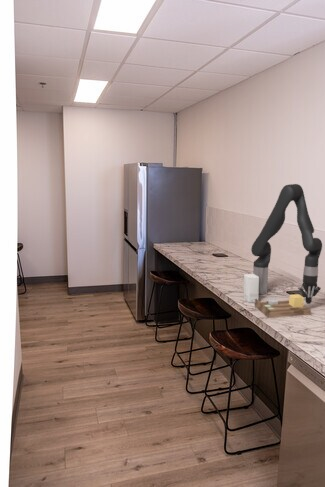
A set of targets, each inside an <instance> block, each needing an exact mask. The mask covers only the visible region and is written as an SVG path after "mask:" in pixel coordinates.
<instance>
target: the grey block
mask: <svg viewBox="0 0 325 487" xmlns="http://www.w3.org/2000/svg"><path fill="white" fill-rule="evenodd" d="M278 301H279V300H276V299H268V301H267V302H268V304H270V305H276V304H278Z"/></svg>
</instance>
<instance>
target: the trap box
mask: <svg viewBox="0 0 325 487" xmlns="http://www.w3.org/2000/svg"><path fill="white" fill-rule="evenodd" d="M277 301H278V304H276V305H270V304H268V301H260V300H259V299H258V300H257V299H255V302H254V307H255V308H256V310H258V311H259V312H261V313H262V314H263V315H264V316H265V317H266V318H279V317H280V318H281V317H295V316H309V315H310V316H311V314H312V313H311V312H312V311H311V309H309V308H308V307H307V306H305V305H303V307H293V306H291V305H290V304H289V299H288V300H277Z"/></svg>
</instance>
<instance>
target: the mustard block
mask: <svg viewBox="0 0 325 487" xmlns="http://www.w3.org/2000/svg"><path fill="white" fill-rule="evenodd" d="M304 297H305V296H303V295H302V294H289V297H288V298H289V299H288V300H289V304H290V305H291V306H293V307H303V306H304V302H305V300H304V299H305V298H304Z"/></svg>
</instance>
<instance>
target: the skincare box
mask: <svg viewBox="0 0 325 487" xmlns="http://www.w3.org/2000/svg"><path fill="white" fill-rule="evenodd" d="M259 295H260V294H259V277H258V276H256V275H255V274H253V273H245V274H243V299H244V300H245V301H247V303H250V304H251V303H255V299H257V300H258V301H259Z"/></svg>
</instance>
